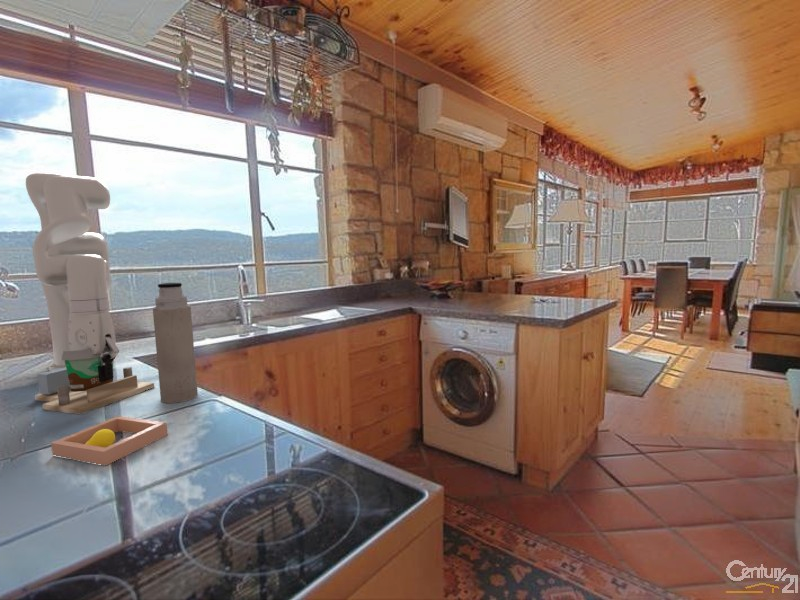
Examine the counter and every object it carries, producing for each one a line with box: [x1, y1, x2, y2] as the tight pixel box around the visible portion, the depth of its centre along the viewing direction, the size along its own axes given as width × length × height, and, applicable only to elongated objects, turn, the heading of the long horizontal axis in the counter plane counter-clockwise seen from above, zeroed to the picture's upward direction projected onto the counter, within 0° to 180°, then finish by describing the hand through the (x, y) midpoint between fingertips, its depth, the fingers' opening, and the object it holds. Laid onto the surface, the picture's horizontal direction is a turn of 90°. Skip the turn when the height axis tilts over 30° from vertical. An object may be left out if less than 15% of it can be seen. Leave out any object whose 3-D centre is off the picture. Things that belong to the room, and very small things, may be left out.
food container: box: [62, 348, 114, 392], centre depth 103 cm, size 12×6×10 cm, turn 169°
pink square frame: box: [50, 415, 169, 466], centre depth 77 cm, size 12×12×2 cm
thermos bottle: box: [152, 282, 199, 404], centre depth 101 cm, size 8×8×28 cm
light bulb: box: [85, 429, 116, 448], centre depth 75 cm, size 3×6×4 cm, turn 139°
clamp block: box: [37, 367, 70, 395], centre depth 107 cm, size 3×10×5 cm, turn 162°
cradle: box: [34, 366, 155, 415], centre depth 104 cm, size 21×19×5 cm
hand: (97, 378), depth 103 cm, fingers closed on food container, 5 cm apart
